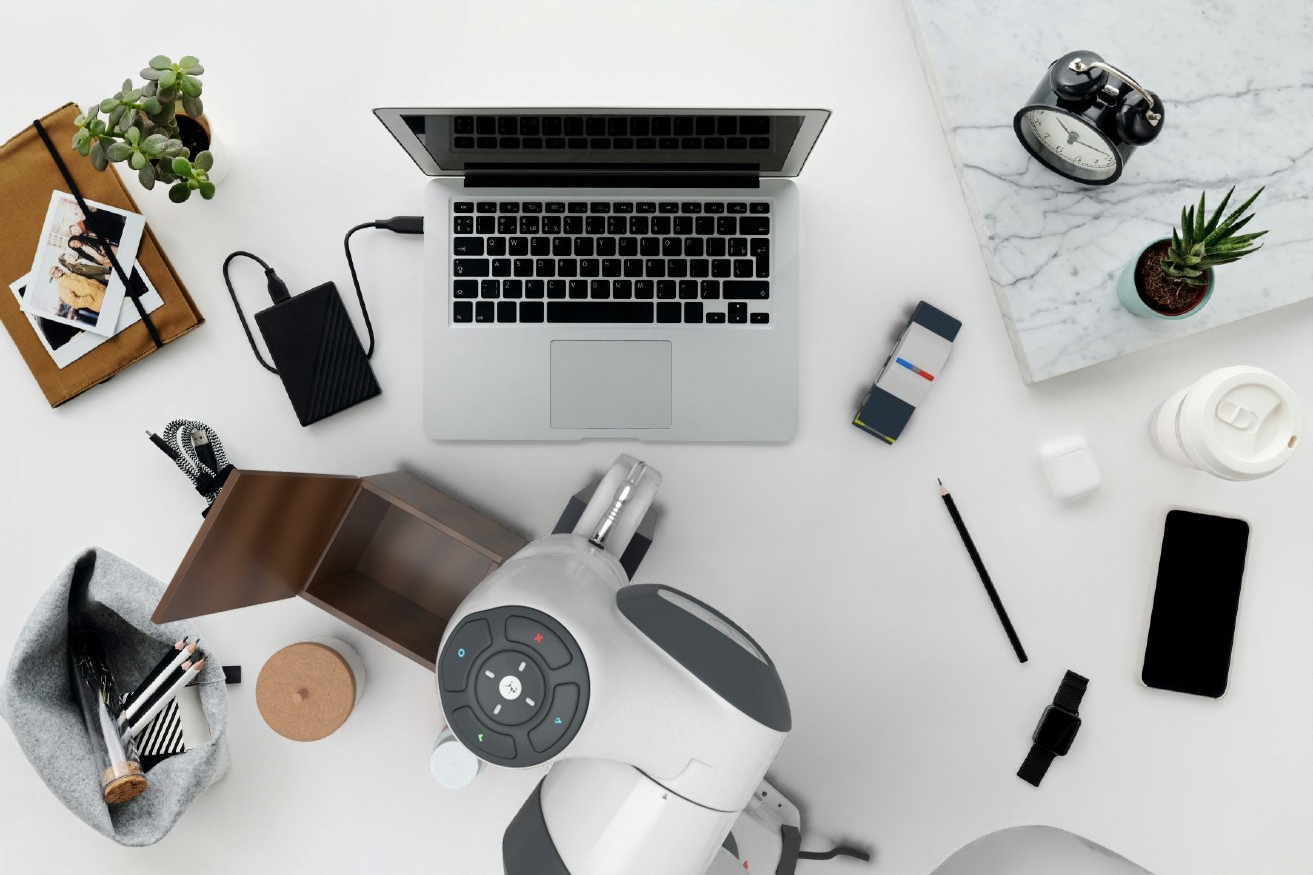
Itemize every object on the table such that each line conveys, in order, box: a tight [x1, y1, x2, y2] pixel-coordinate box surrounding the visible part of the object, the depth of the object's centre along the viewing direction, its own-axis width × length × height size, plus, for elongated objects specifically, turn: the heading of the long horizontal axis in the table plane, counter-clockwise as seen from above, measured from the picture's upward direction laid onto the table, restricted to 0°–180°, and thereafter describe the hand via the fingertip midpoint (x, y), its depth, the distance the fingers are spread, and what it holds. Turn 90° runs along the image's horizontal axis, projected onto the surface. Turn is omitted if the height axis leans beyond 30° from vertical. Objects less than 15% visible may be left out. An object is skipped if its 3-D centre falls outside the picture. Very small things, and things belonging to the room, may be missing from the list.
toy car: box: [851, 300, 963, 446], centre depth 88 cm, size 5×16×5 cm, turn 151°
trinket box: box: [255, 636, 367, 743], centre depth 87 cm, size 11×11×9 cm
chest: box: [296, 470, 528, 674], centre depth 85 cm, size 17×14×13 cm
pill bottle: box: [429, 724, 489, 791], centre depth 86 cm, size 6×6×11 cm
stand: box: [550, 478, 657, 584], centre depth 79 cm, size 8×8×24 cm
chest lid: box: [149, 468, 361, 626], centre depth 69 cm, size 18×14×1 cm
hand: (585, 567), depth 63 cm, fingers open, 8 cm apart
